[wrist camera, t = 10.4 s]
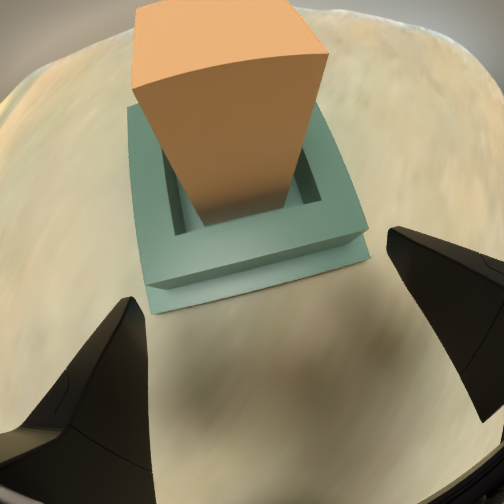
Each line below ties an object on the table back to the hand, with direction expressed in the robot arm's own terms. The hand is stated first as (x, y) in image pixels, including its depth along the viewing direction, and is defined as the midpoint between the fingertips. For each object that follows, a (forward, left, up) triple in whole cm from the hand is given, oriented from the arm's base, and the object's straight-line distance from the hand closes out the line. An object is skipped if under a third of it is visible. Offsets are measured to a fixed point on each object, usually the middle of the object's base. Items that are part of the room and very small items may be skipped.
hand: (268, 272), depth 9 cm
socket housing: (+6, +4, -8) cm, 11 cm away
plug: (+5, +4, -8) cm, 10 cm away
